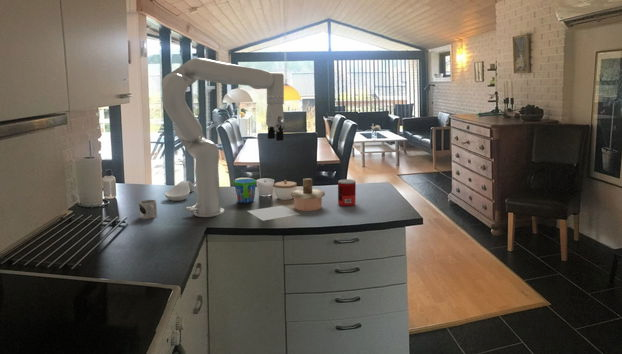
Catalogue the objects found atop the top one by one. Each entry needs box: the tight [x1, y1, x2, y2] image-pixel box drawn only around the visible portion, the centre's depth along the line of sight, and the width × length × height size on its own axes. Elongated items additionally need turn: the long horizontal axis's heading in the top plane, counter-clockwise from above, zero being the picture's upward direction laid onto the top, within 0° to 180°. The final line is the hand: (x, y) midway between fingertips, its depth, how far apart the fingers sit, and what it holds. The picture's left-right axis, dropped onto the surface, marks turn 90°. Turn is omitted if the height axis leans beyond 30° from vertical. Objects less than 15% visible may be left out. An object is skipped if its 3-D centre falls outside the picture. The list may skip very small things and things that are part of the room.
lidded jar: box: [273, 179, 298, 201], centre depth 208 cm, size 11×11×9 cm
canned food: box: [337, 178, 357, 207], centre depth 197 cm, size 8×8×11 cm
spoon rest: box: [164, 180, 195, 202], centre depth 217 cm, size 24×12×7 cm, turn 176°
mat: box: [247, 205, 301, 222], centre depth 184 cm, size 17×17×1 cm
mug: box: [138, 199, 158, 220], centre depth 180 cm, size 10×7×7 cm
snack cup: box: [233, 178, 258, 204], centre depth 204 cm, size 16×10×10 cm
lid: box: [291, 177, 326, 199], centre depth 191 cm, size 15×15×7 cm
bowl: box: [293, 197, 323, 212], centre depth 192 cm, size 12×12×6 cm
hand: (275, 139), depth 195 cm, fingers open, 9 cm apart
